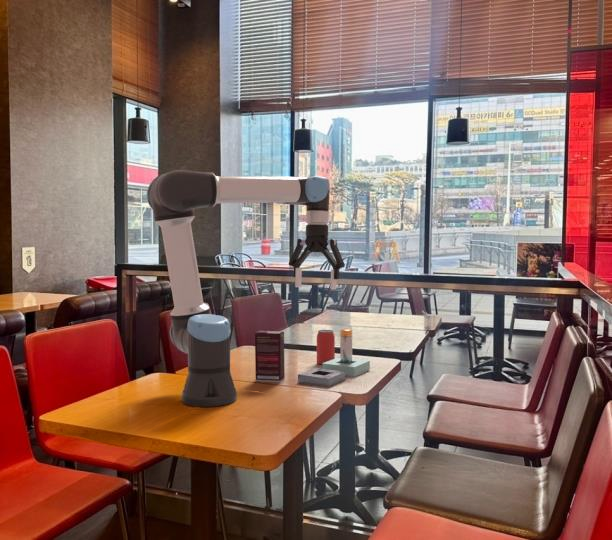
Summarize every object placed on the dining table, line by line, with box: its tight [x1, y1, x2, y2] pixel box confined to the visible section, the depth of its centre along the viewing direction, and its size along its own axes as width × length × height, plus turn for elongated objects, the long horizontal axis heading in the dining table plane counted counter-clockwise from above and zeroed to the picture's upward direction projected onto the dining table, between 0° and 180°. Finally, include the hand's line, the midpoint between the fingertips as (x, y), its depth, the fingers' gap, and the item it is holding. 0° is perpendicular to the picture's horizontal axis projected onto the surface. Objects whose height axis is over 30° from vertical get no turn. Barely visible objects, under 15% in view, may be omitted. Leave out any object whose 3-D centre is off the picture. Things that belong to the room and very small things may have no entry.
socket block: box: [321, 356, 371, 378], centre depth 198 cm, size 12×12×4 cm
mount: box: [297, 367, 346, 388], centre depth 184 cm, size 11×11×3 cm
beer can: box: [316, 329, 336, 365], centre depth 213 cm, size 7×7×12 cm
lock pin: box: [339, 328, 353, 364], centre depth 198 cm, size 4×4×14 cm
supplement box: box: [254, 330, 286, 384], centre depth 185 cm, size 9×5×16 cm, turn 76°
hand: (315, 288), depth 194 cm, fingers open, 13 cm apart
